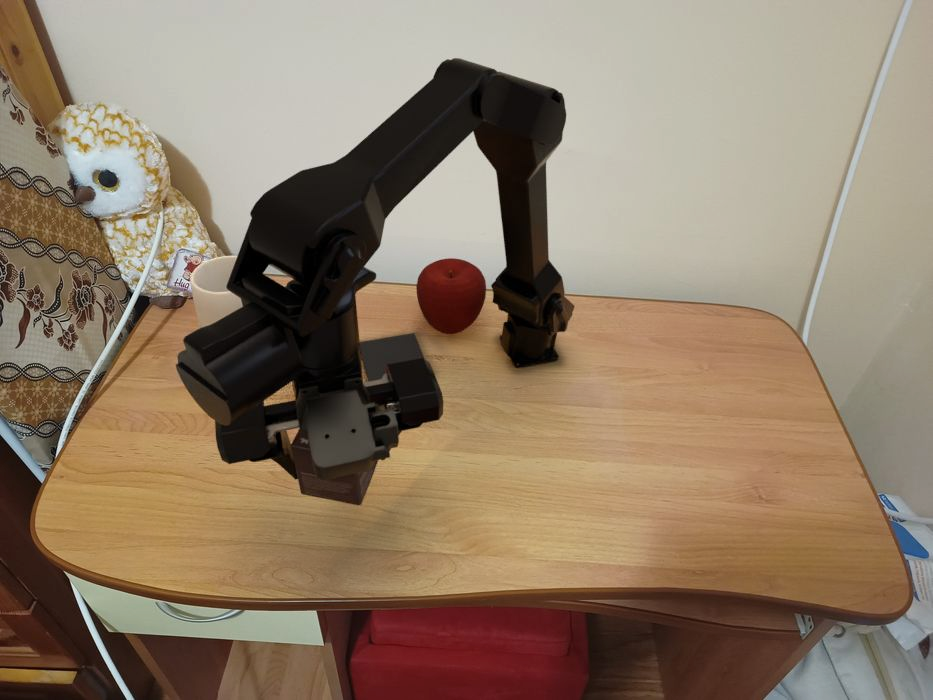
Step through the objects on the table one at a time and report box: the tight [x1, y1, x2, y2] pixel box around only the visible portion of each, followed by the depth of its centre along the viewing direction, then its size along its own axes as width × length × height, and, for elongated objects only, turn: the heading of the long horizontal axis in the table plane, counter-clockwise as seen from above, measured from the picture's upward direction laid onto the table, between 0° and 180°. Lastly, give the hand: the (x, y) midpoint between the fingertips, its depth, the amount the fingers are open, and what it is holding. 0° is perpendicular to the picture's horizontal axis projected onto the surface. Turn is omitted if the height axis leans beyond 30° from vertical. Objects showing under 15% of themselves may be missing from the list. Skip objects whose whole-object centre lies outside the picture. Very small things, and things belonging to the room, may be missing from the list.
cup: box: [189, 255, 243, 328], centre depth 77 cm, size 8×8×14 cm
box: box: [291, 428, 379, 506], centre depth 58 cm, size 6×6×7 cm
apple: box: [415, 257, 487, 335], centre depth 87 cm, size 10×10×10 cm
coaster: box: [359, 332, 425, 382], centre depth 84 cm, size 8×8×1 cm
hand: (339, 466), depth 60 cm, fingers closed on box, 8 cm apart
